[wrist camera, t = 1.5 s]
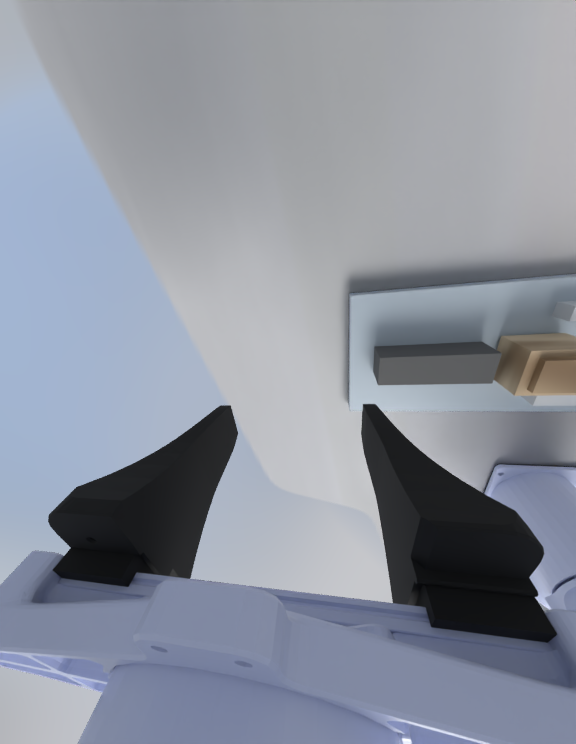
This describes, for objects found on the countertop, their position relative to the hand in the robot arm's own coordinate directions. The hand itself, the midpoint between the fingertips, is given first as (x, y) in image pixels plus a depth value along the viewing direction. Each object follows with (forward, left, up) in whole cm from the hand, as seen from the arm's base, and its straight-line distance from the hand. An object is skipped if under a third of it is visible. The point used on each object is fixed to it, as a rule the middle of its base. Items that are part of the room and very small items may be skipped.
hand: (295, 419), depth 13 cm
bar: (-1, -10, -9) cm, 13 cm away
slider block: (-1, -17, -9) cm, 19 cm away
